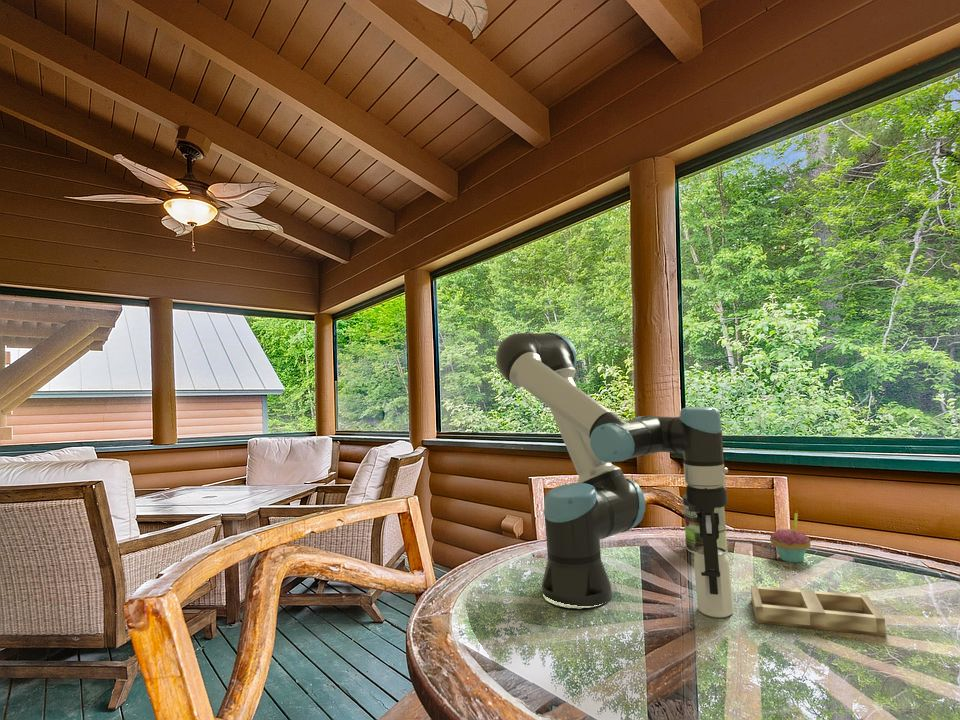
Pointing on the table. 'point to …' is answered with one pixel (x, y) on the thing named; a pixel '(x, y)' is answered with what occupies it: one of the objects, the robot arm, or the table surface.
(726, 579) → the can
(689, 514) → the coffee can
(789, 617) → the tan two-compartment tray
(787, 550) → the cupcake
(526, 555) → the table surface
